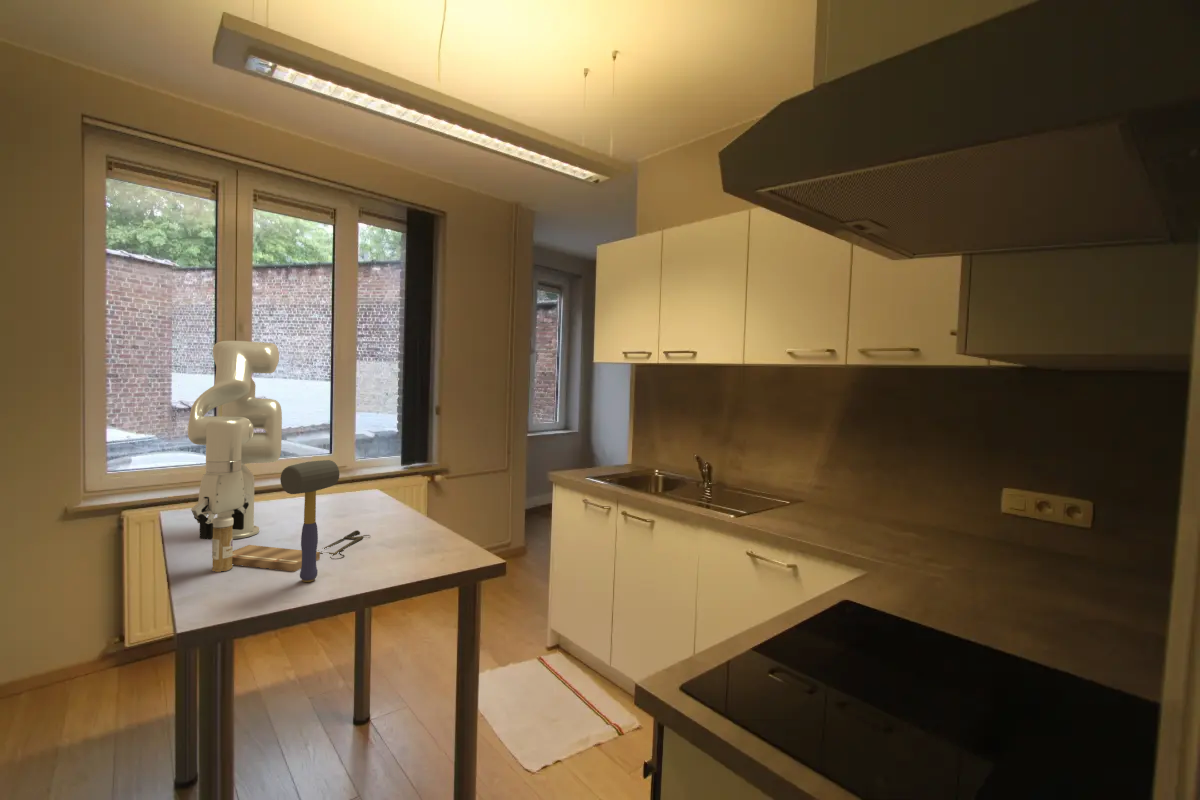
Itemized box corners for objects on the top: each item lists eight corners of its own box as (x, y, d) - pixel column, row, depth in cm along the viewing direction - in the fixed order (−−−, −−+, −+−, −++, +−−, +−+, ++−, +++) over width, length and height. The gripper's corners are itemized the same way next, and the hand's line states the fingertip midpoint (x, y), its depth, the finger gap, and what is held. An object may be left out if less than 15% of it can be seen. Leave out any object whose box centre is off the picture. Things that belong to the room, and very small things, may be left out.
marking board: (219, 563, 147) (219, 555, 147) (248, 551, 157) (249, 544, 157) (294, 571, 144) (294, 563, 144) (319, 559, 154) (319, 551, 154)
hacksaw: (355, 533, 180) (355, 529, 180) (385, 536, 178) (385, 532, 178) (305, 557, 156) (305, 552, 156) (339, 561, 154) (339, 555, 154)
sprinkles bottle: (232, 570, 143) (233, 519, 142) (211, 573, 140) (212, 521, 140) (232, 565, 147) (233, 514, 146) (211, 568, 144) (212, 516, 143)
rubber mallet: (317, 570, 146) (320, 456, 144) (339, 575, 143) (342, 459, 142) (275, 586, 134) (277, 463, 133) (298, 592, 131) (300, 466, 130)
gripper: (237, 462, 151) (236, 524, 151) (180, 471, 134) (179, 541, 134) (262, 463, 150) (260, 526, 150) (207, 473, 133) (206, 544, 133)
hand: (222, 533), depth 142 cm, fingers open, 9 cm apart
